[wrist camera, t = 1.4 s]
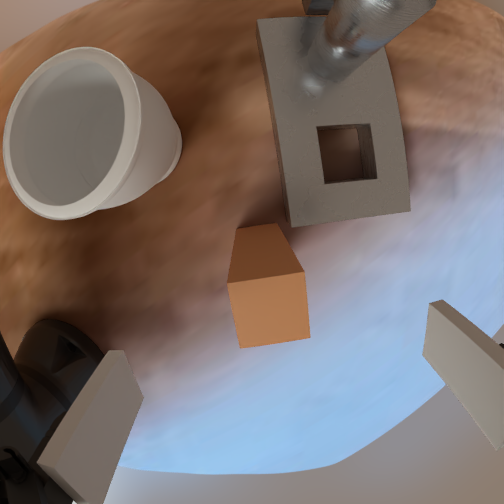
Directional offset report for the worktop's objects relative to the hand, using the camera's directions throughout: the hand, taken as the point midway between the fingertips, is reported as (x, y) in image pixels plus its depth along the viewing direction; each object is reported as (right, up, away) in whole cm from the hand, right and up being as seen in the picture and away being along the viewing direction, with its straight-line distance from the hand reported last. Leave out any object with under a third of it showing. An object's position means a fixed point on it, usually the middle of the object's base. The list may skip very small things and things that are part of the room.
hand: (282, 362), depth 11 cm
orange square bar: (0, +5, +19) cm, 20 cm away
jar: (-12, +15, +16) cm, 25 cm away
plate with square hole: (+6, +19, +15) cm, 25 cm away
